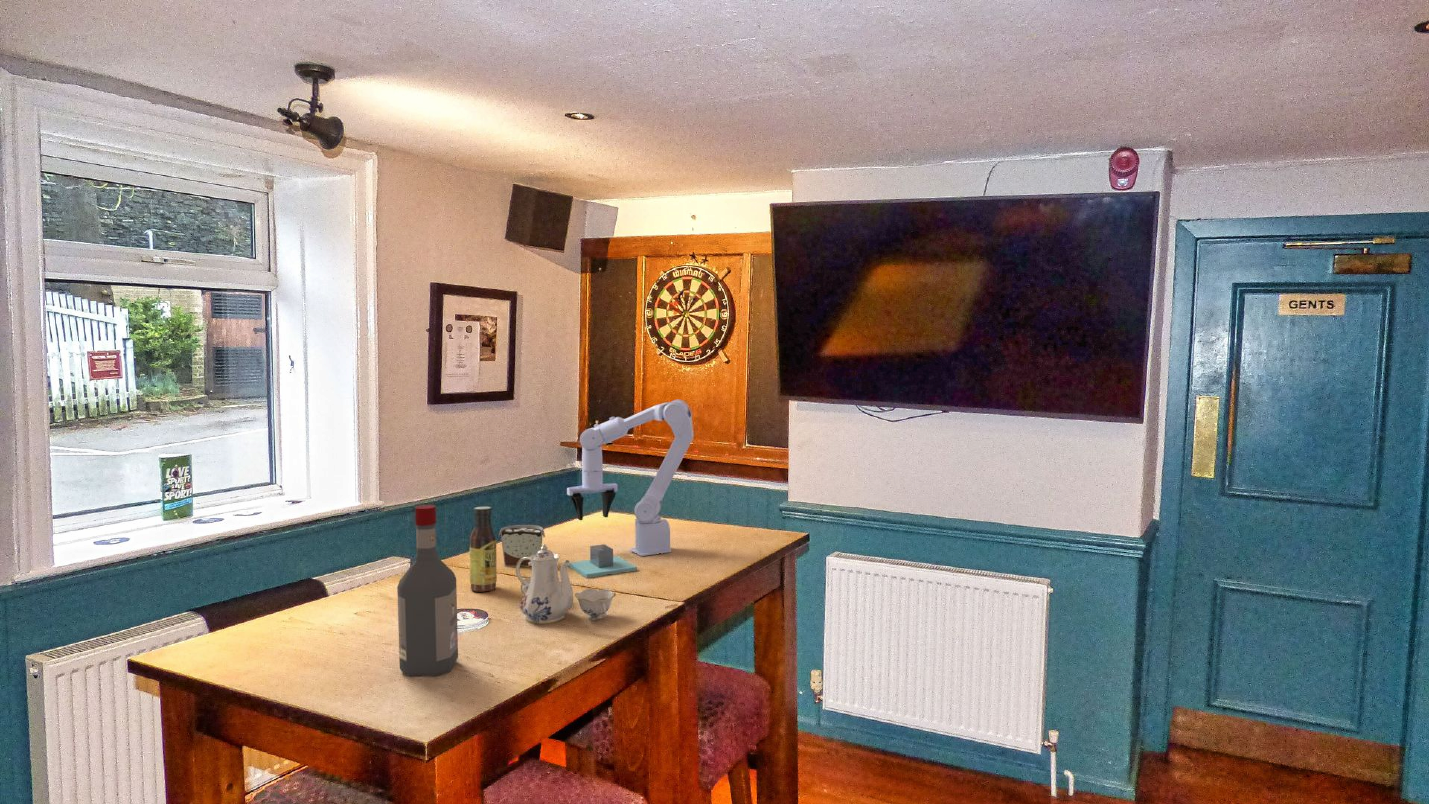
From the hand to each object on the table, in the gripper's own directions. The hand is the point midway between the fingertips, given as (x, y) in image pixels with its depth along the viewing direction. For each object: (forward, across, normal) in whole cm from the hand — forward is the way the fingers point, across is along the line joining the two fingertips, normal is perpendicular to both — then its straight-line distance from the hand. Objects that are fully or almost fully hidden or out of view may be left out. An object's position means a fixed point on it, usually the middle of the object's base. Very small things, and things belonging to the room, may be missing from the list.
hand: (592, 518), depth 247 cm
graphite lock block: (+8, +5, +18) cm, 21 cm away
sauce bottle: (+10, +37, +22) cm, 44 cm away
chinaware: (+10, +28, +49) cm, 57 cm away
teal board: (+9, +5, +19) cm, 22 cm away
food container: (+10, +21, +4) cm, 23 cm away
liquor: (+10, +59, +67) cm, 90 cm away
